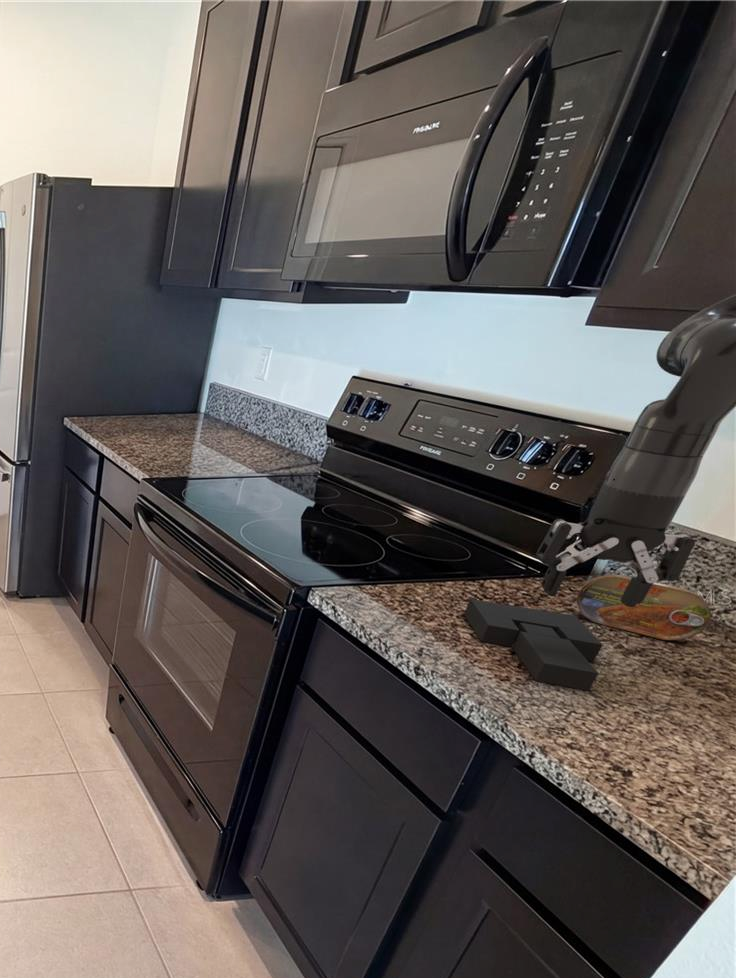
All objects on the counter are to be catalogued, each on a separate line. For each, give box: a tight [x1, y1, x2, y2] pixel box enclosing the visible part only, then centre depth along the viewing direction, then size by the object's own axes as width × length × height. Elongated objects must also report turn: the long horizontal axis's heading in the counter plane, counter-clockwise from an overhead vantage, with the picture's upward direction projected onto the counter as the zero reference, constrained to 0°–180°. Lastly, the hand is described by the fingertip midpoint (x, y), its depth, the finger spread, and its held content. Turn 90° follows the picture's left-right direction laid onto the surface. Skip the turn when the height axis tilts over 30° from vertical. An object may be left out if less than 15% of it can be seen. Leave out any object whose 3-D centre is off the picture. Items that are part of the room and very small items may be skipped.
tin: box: [576, 574, 712, 641], centre depth 105 cm, size 15×3×8 cm, turn 45°
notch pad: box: [463, 598, 603, 662], centre depth 103 cm, size 14×10×3 cm
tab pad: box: [511, 623, 599, 692], centre depth 96 cm, size 6×14×3 cm, turn 157°
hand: (587, 598), depth 90 cm, fingers open, 8 cm apart
